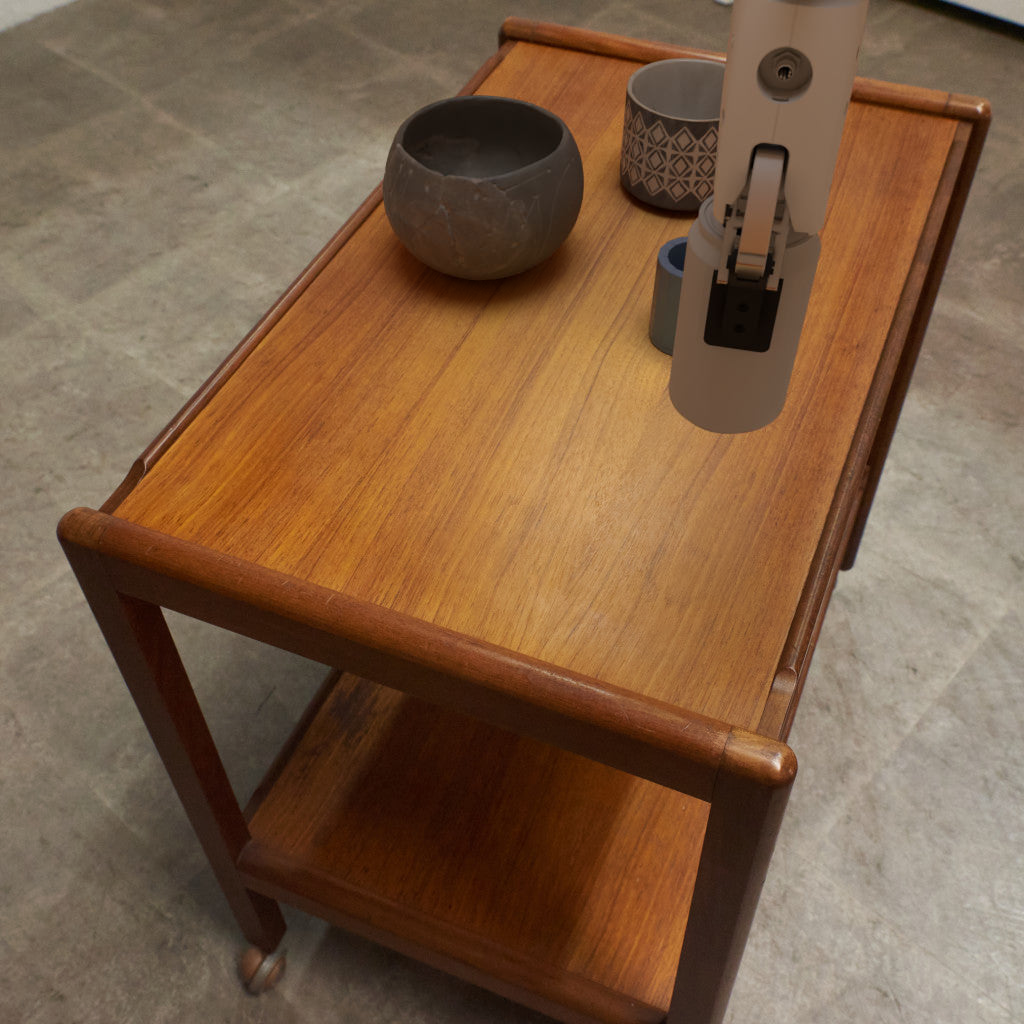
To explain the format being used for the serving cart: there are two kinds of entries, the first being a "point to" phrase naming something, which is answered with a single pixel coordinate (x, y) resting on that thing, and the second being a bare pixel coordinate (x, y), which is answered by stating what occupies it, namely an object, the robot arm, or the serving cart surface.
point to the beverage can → (732, 372)
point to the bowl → (483, 185)
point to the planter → (672, 132)
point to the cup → (667, 294)
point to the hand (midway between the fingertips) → (743, 299)
